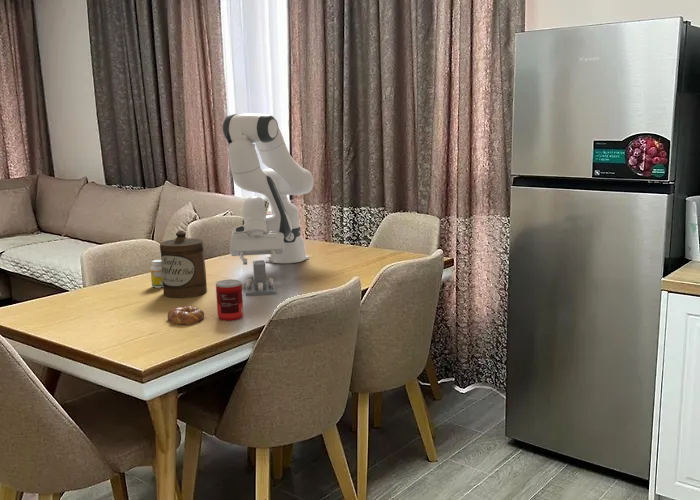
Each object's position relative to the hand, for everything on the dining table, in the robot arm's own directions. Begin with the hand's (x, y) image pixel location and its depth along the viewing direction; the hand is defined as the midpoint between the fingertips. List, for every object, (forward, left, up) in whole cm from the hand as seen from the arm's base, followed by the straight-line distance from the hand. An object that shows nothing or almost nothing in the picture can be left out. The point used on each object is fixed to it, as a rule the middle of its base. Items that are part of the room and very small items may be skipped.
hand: (258, 263), depth 250 cm
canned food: (+41, -17, -8) cm, 45 cm away
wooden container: (+4, -27, -8) cm, 28 cm away
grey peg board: (+12, -2, -7) cm, 14 cm away
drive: (+12, -2, -6) cm, 14 cm away
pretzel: (+39, -30, -8) cm, 49 cm away
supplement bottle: (-9, -35, -8) cm, 37 cm away
